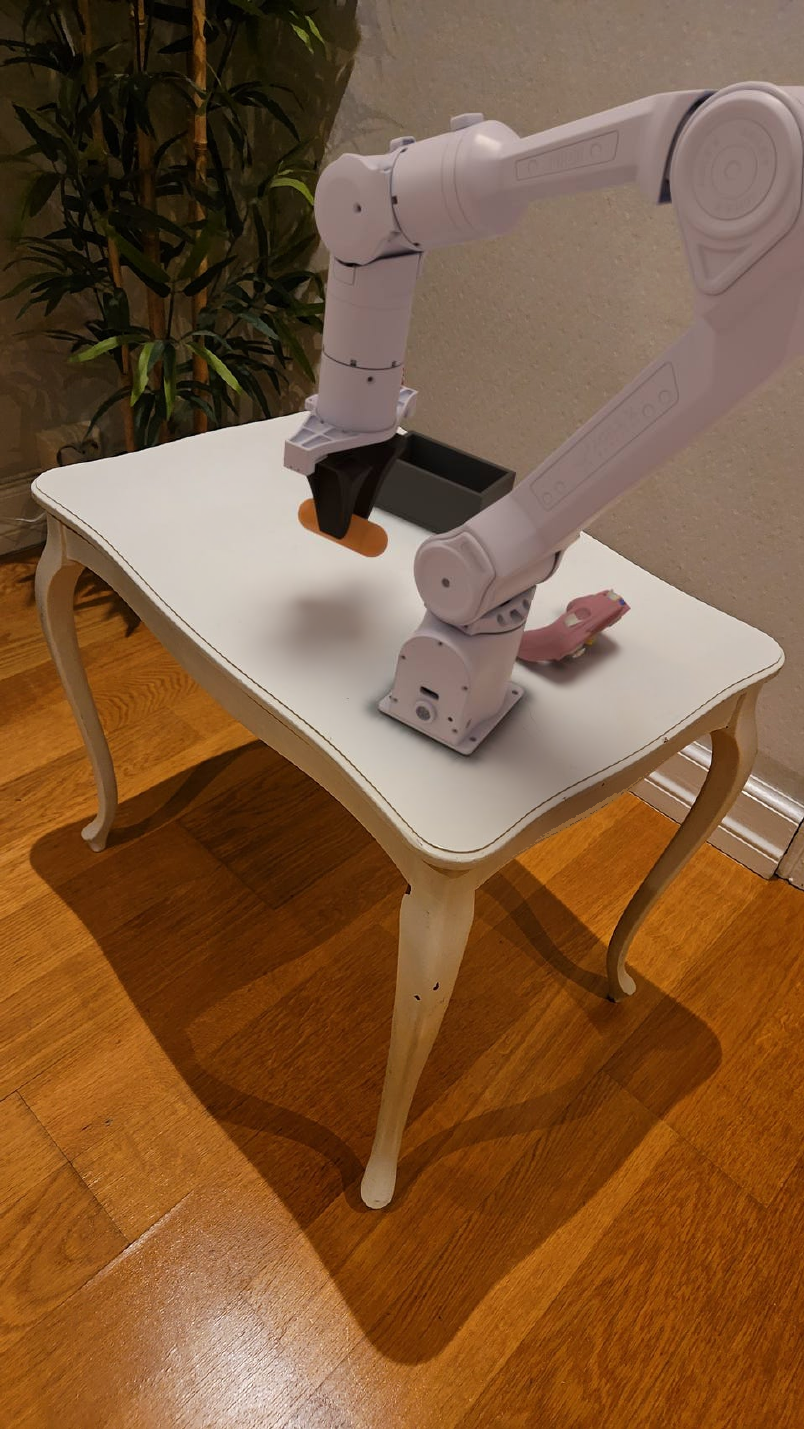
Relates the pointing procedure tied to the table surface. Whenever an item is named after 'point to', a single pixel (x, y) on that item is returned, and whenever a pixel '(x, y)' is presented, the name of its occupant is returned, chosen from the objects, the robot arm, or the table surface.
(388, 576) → the table surface
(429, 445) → the bin
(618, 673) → the table surface
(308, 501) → the orange stadium tablet
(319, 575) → the table surface
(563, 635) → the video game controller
